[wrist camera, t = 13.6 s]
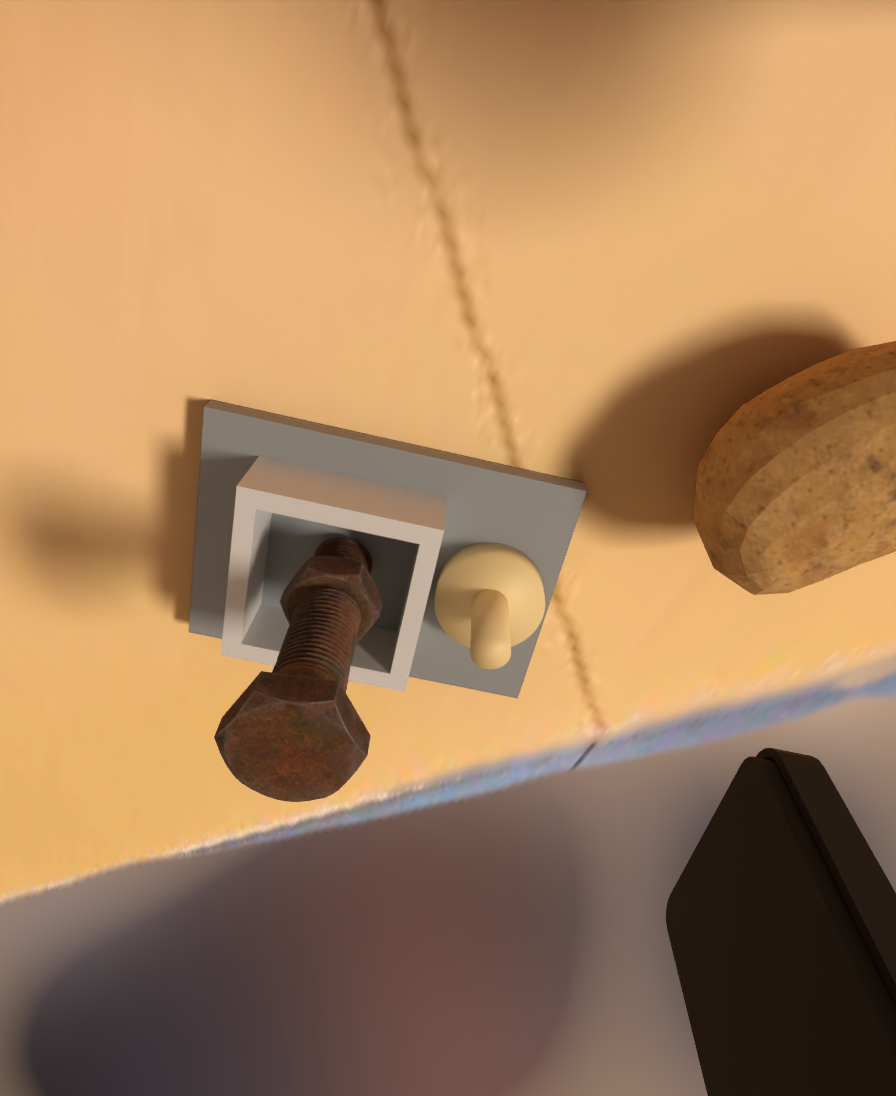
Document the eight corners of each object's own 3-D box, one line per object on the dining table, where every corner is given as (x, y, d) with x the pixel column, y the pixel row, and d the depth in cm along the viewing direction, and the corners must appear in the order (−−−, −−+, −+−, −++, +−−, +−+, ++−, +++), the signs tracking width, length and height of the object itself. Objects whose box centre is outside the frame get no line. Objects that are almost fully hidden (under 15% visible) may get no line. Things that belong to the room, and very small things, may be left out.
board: (584, 482, 40) (604, 543, 33) (516, 685, 46) (522, 770, 40) (211, 399, 38) (157, 447, 32) (195, 620, 45) (148, 697, 38)
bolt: (336, 494, 39) (273, 672, 26) (412, 547, 41) (389, 741, 27) (277, 568, 41) (191, 767, 28) (351, 616, 43) (302, 826, 30)
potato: (976, 420, 37) (1092, 480, 30) (731, 575, 42) (782, 659, 35) (886, 264, 34) (992, 291, 27) (631, 451, 39) (666, 515, 32)
